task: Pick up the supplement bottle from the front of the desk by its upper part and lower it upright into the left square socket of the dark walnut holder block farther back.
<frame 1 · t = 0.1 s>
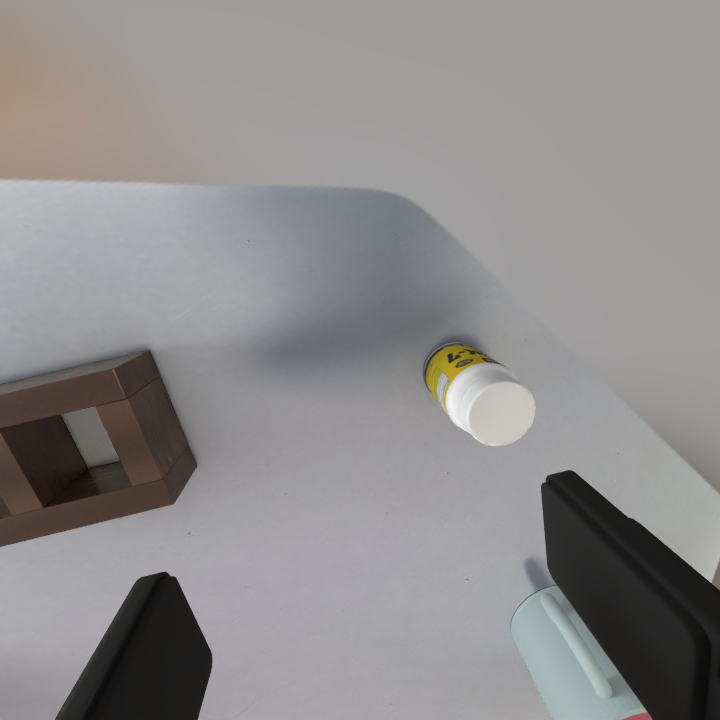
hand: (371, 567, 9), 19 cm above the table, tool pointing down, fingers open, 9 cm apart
supplement bottle: (450, 369, 28), on the table
mug: (545, 603, 36), on the table
holder: (57, 439, 26), on the table
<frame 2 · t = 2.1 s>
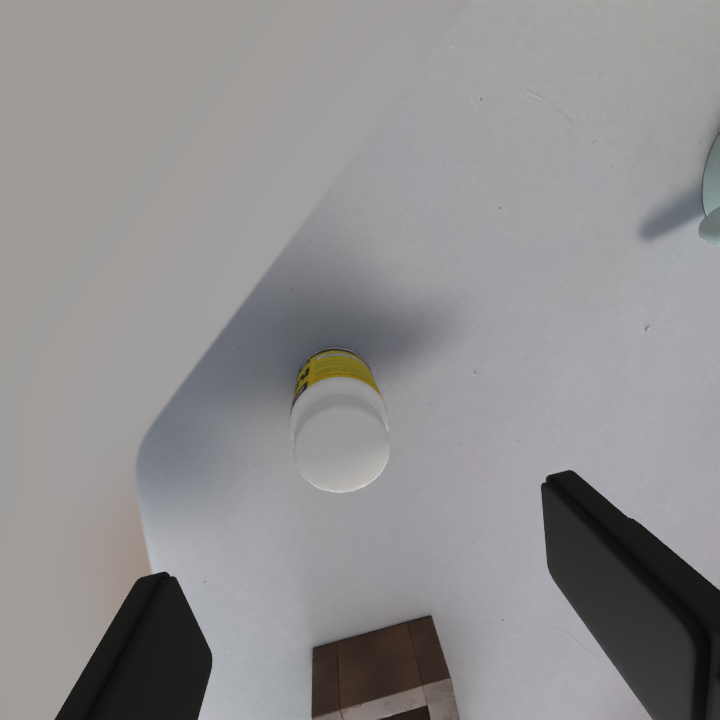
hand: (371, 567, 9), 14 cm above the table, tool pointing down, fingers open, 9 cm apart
supplement bottle: (334, 381, 23), on the table
holder: (392, 704, 31), on the table
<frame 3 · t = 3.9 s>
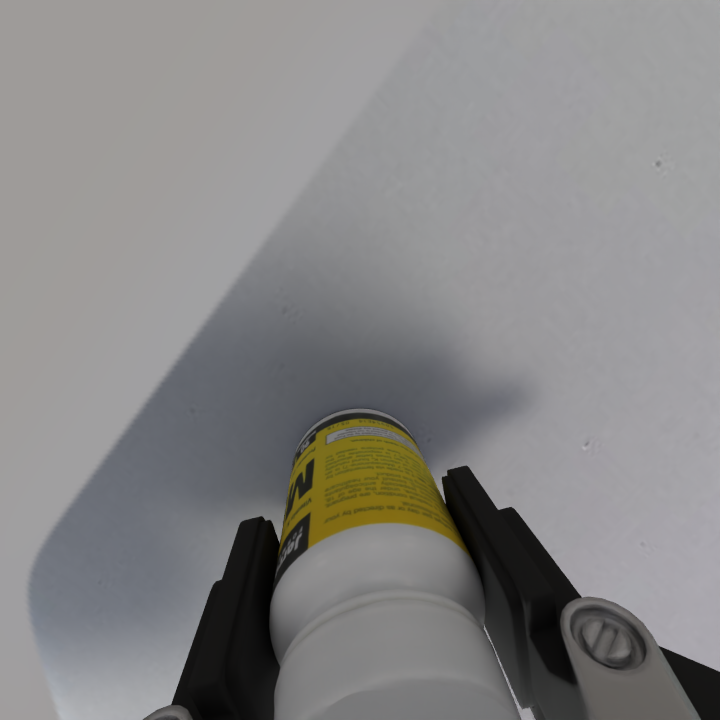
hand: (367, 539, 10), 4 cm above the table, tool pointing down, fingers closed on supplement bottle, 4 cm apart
supplement bottle: (355, 460, 14), on the table, touching gripper
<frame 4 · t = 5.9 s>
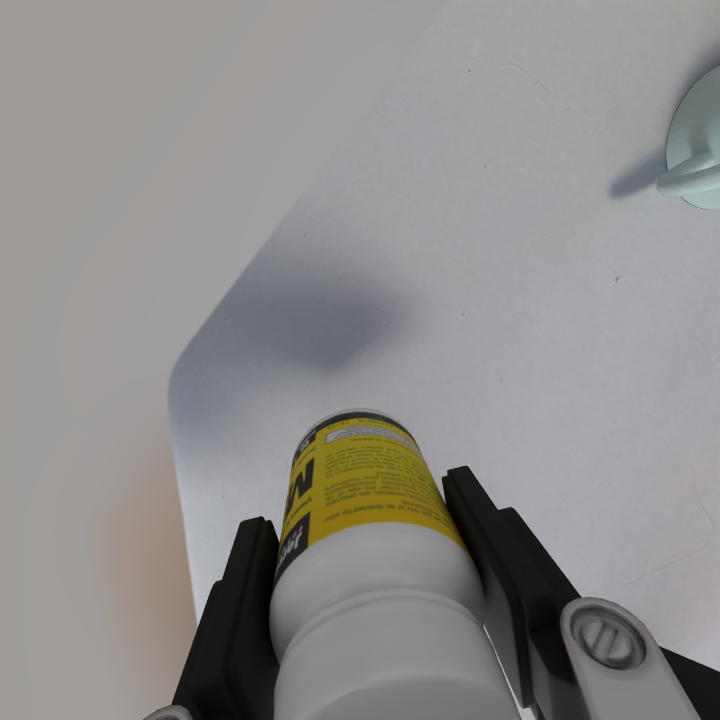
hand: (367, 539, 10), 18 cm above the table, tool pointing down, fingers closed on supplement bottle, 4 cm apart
supplement bottle: (355, 460, 14), point 14 cm above the table, touching gripper
mug: (695, 155, 25), on the table
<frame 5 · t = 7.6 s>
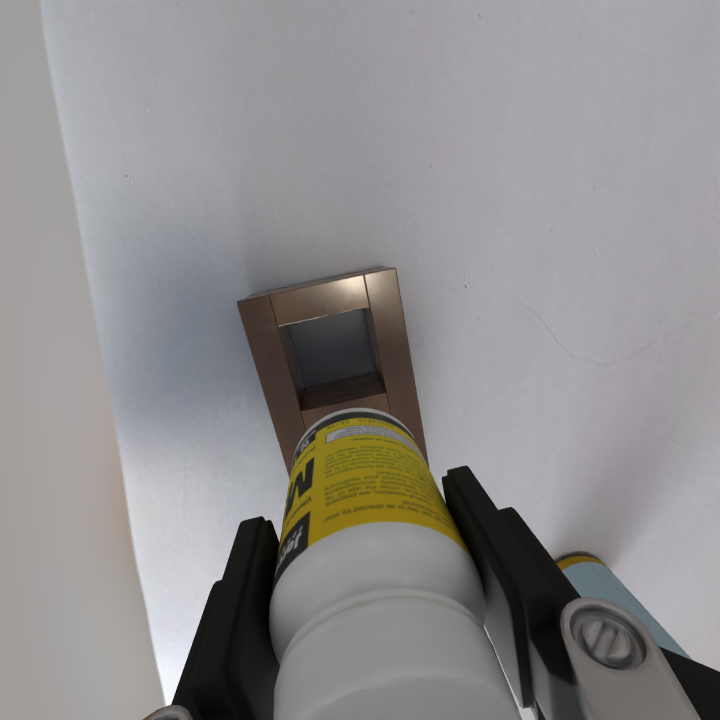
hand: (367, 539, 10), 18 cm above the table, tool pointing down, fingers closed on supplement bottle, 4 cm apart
supplement bottle: (355, 460, 14), point 14 cm above the table, touching gripper
bottle: (569, 578, 36), on the table
holder: (343, 391, 28), on the table
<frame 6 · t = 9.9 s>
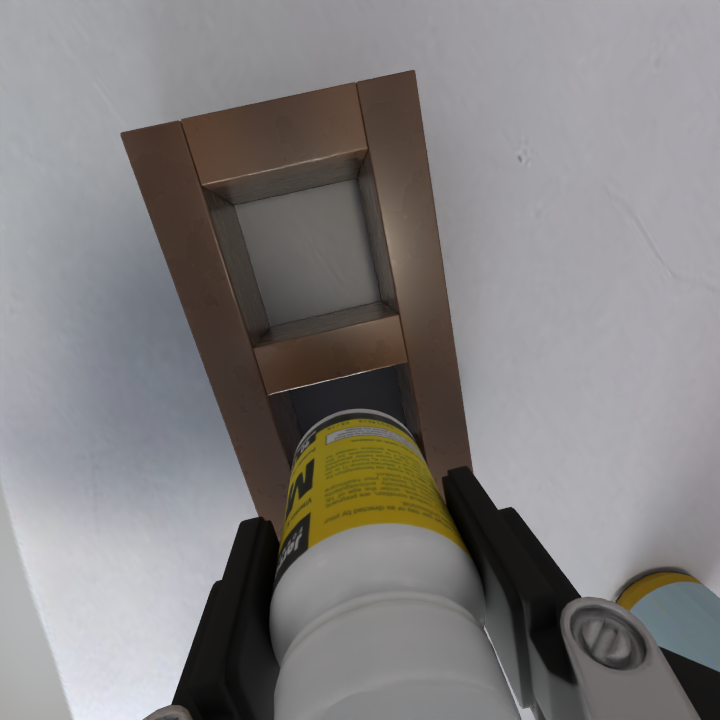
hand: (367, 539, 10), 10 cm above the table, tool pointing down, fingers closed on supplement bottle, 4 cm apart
supplement bottle: (355, 461, 14), point 6 cm above the table, touching gripper
bottle: (650, 602, 26), on the table
holder: (330, 332, 18), on the table
when the fingers open (6 cm above the table, at t = 11.7 s): supplement bottle drops 2 cm, resting in holder.
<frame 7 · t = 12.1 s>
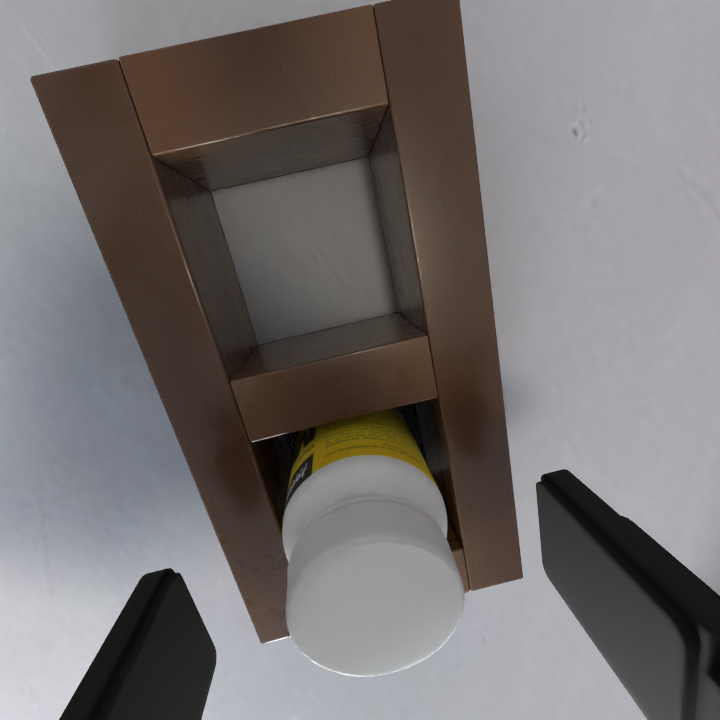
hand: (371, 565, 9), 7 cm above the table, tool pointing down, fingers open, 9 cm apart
supplement bottle: (351, 430, 16), resting in holder
holder: (334, 351, 15), on the table
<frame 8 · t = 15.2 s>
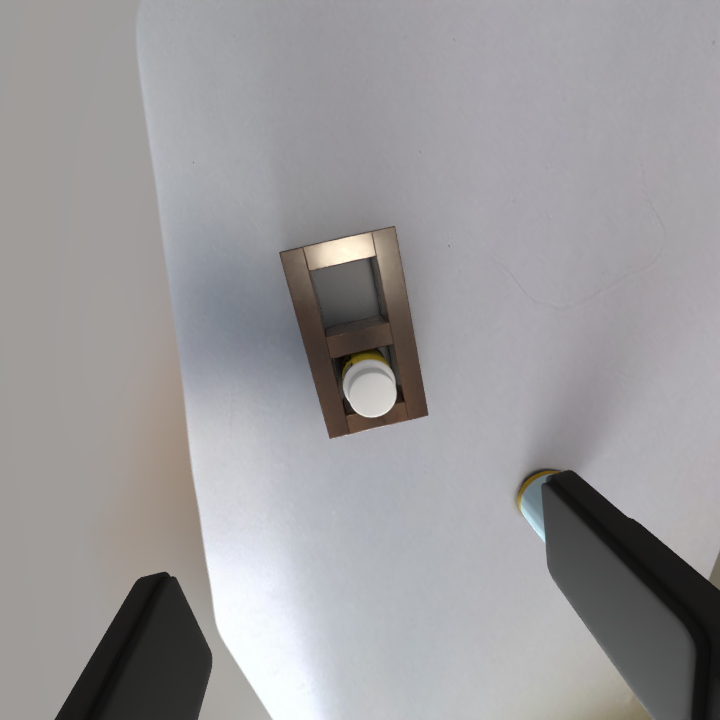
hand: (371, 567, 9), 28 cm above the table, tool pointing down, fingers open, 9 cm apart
supplement bottle: (362, 365, 37), resting in holder
bottle: (541, 491, 44), on the table
holder: (355, 331, 36), on the table
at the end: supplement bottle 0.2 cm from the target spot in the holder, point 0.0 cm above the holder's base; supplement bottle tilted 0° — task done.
